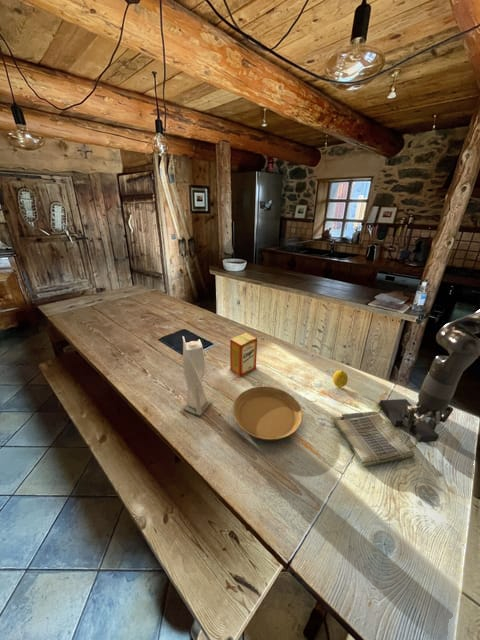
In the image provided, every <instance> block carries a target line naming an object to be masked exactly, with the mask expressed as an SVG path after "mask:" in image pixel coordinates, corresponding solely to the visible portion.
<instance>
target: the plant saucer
mask: <svg viewBox="0 0 480 640" xmlns="http://www.w3.org/2000/svg"><path fill="white" fill-rule="evenodd" d="M232 417H233V419H234V421H235V423H236V424H237V426H238V427H239V428H240V429H241V430H242V431H243V432H244V433H246V434H247V435H248V436H250V437H252V438H255V439H258V440H262V441H279V440H282V439H285V438H287V437H289V436H291V435H293V434H294V433H295V432H296V431H297V430H298V429H299V427H300V426H301V424H302V422H303V411H302V408H301V405H300V402H298V400H297V399H296V398H295V397H294V396H293V395H292V394H290V393H289V392H287V391H284V390H283V389H280V388H277V387H272V386H267V385H265V386H264V385H263V386H255V387H251V388H248V389H246V390H244V391H242V392H241V393H240V394H239V395H238V396H236V398H235V400H234V402H233V405H232Z"/></svg>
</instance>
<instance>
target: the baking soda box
mask: <svg viewBox="0 0 480 640" xmlns="http://www.w3.org/2000/svg"><path fill="white" fill-rule="evenodd" d="M257 351H258V337H257V336H255V335H253V334H251V333H249V332H244V333H242V334H240V335H237V336H234V337H233V338H230V339H229V354H230V355H229V356H230V358H229V361H230V362H229V363H230V364H229V367H230V368H229V369H230V371H231V372H232V373H234V374H235V375H237V376H238V377H239V378H241V377H243V376H245V375H246V374H249V373H250V372H252V371H253V370H256V368H257V355H258V354H257V353H258V352H257Z"/></svg>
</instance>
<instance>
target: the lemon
mask: <svg viewBox="0 0 480 640" xmlns="http://www.w3.org/2000/svg"><path fill="white" fill-rule="evenodd" d="M348 377H349V376H348V374H347V372H346V371H344V370H342V369H340V370H336V371H335V373H334V374H333V376H332V382H333V384H334V385H335V386H336V387H338V388H343V387H345V386H346V385H347V384H348V380H349V378H348Z"/></svg>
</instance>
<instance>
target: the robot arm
mask: <svg viewBox="0 0 480 640" xmlns="http://www.w3.org/2000/svg"><path fill="white" fill-rule="evenodd" d="M479 333H480V309H478V310H477V311H475V312H473V313H470V314H468V315H465V316H463V317H461V318H458V319H456V320H453V321H451V322H448V323H446V324H445V325H443V326H442V327H441V328H440V329H439V330H438V332H437V333H436V336H435V340H436V343H437V344H438V345H439V346H440V347H441V348H443V350H445V351H446V352H448V354H449V355H437V356H435V358H434V359H433V361H432V363H431V365H430V368H429V370H428V372H427V374H426V376H425V377H424V380H423V382H422V384H421V386H420V389H419V391H418V395H417V399H418V401H417V402H416V403H415V405H412V406H410V405H409V404H407V405H406V408H405V413H404V419H405V420H406V421H407V422H408V424H407V427H406V426H405V428H406V429H407V431H408V432H409V433H410V434H411V433H413V432H414V430H415V428H416V426H417V424H418V423H419V422H420V421H423V420H425V419H426V418H427V419H428V418H429V419H428V421H427V423H428V424H429V425H430V426H431V427H432V429H433V430H434V431H435V430H436V428H437V426H438V425H440V423H443V424H444V423H446V421H447V420H448V419H449V417H450V415H451V414H452V412H453V411H454V408H453V407H452V406H451V405H450V403H451V401H452V399H453V397H454V394H455V392H456V390H457V385H458V384H459V381H460V379H461V377H462V375H463V372H464V371H465V370H467V369H468V367H470V365H471V364H473V363H474V362H475V361H476V359H478V357H479V356H480V338H479V337H477V336H476V335H475V334H479ZM418 413H419V414H420V415H421V417H420V416H419V415H418ZM415 417H416V420H414V418H415Z"/></svg>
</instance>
